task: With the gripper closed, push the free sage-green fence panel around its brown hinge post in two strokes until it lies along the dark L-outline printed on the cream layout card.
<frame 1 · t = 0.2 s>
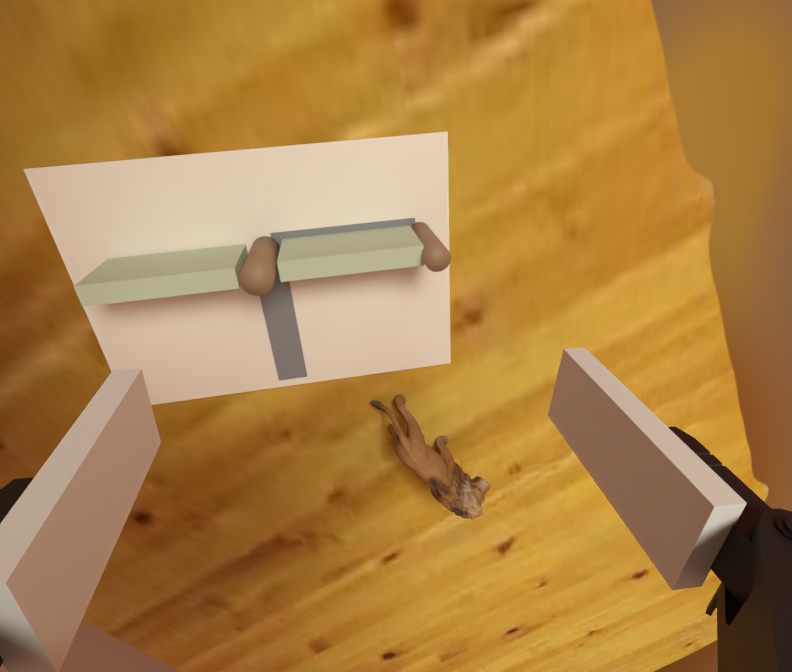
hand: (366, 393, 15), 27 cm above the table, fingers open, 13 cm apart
lion figurine: (423, 430, 52), on the table
layout card: (273, 281, 41), on the table
fence panel: (170, 272, 35), point 4 cm above the table, hinge at 0.0°
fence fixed: (266, 248, 39), resting on layout card
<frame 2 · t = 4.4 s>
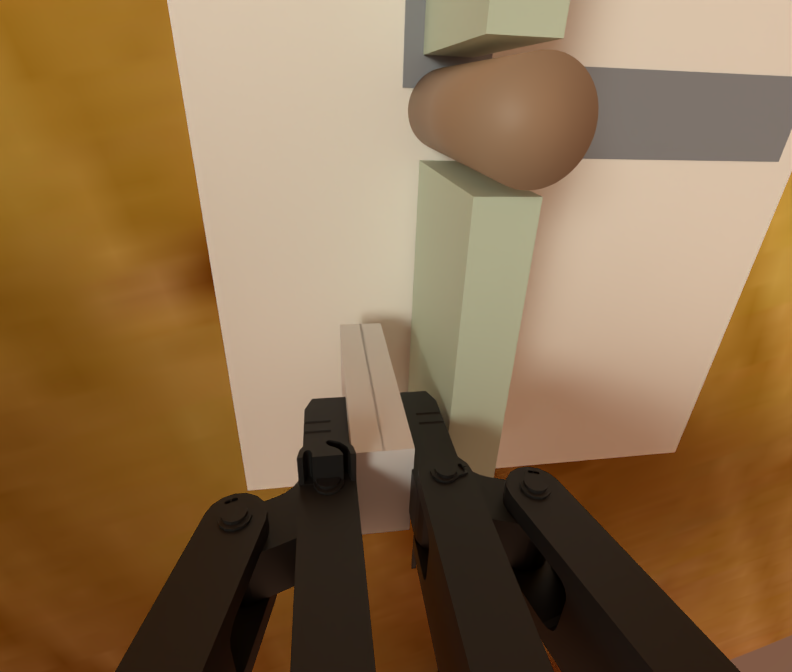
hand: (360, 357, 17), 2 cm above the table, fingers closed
layout card: (527, 112, 16), on the table
fence panel: (451, 347, 15), point 4 cm above the table, hinge at 0.2°, touching gripper
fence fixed: (442, 109, 15), resting on layout card
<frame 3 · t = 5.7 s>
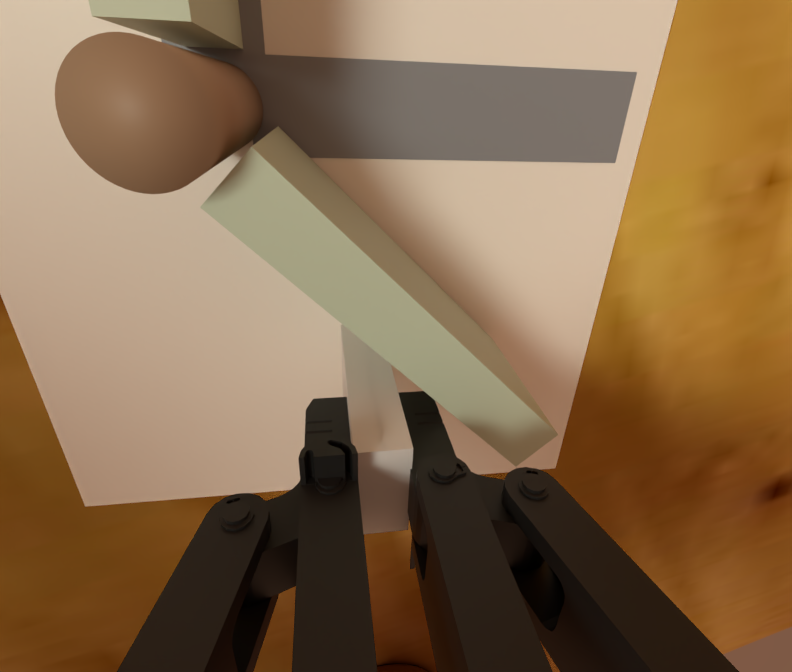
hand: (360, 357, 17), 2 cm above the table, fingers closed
layout card: (322, 109, 14), on the table
fence panel: (396, 295, 14), point 4 cm above the table, hinge at 45.7°, touching gripper
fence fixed: (224, 106, 14), resting on layout card
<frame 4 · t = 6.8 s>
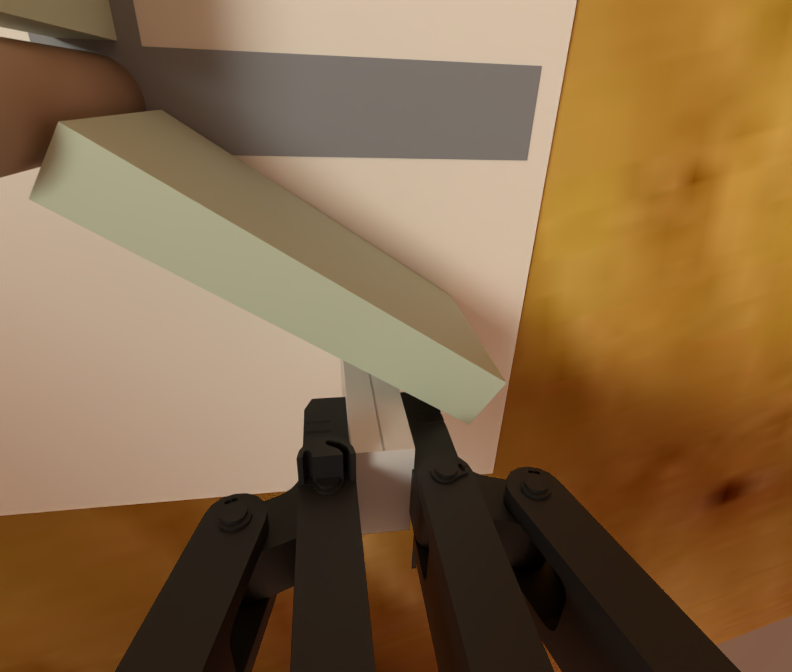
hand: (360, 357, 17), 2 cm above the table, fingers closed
layout card: (212, 104, 14), on the table
fence panel: (311, 263, 13), point 4 cm above the table, hinge at 56.5°, touching gripper
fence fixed: (105, 100, 13), resting on layout card
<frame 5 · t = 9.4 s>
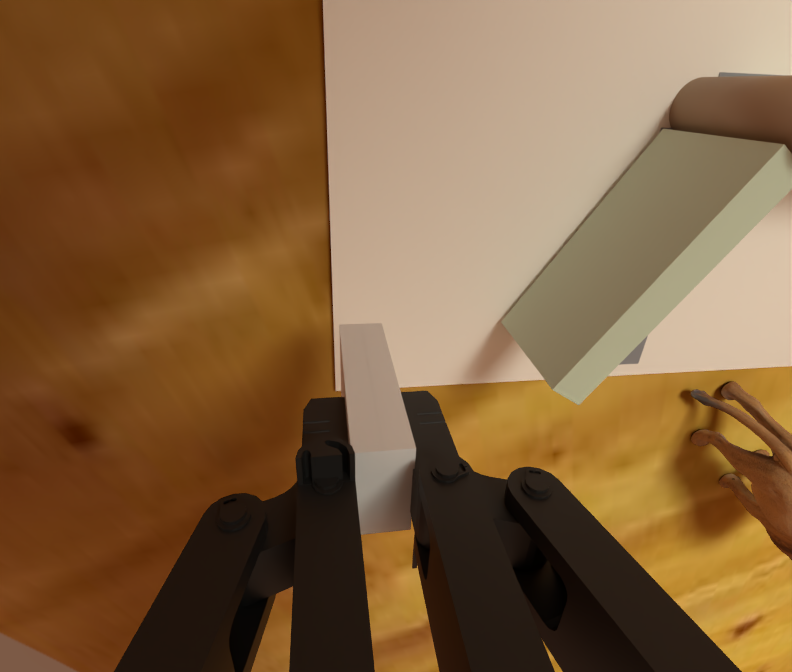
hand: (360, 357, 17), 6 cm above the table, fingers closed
lion figurine: (734, 440, 32), on the table
layout card: (668, 178, 22), on the table
fence panel: (622, 263, 19), point 4 cm above the table, hinge at 57.0°
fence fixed: (690, 108, 20), resting on layout card
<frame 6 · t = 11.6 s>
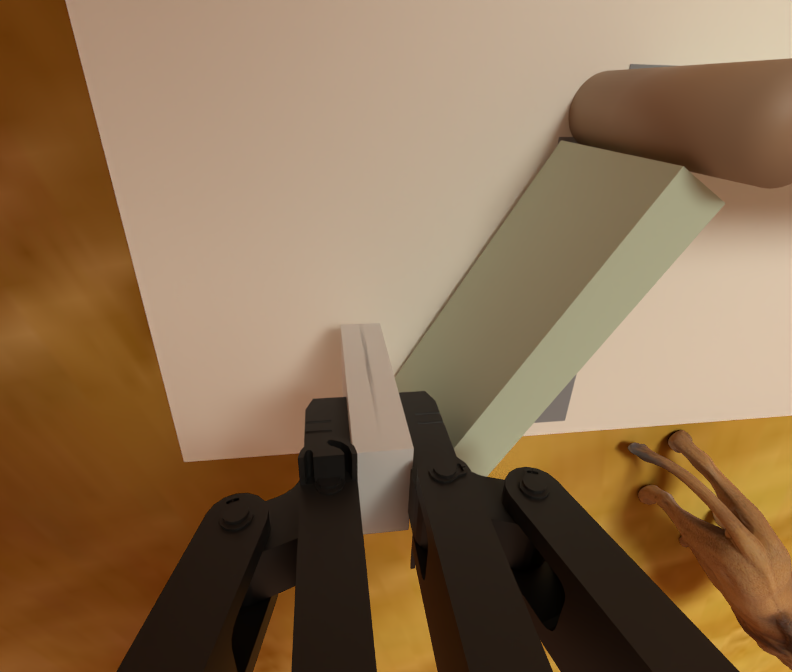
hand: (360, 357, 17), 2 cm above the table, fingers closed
lion figurine: (693, 493, 27), on the table
layout card: (579, 200, 17), on the table
fence panel: (511, 319, 15), point 4 cm above the table, hinge at 59.4°, touching gripper
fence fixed: (598, 111, 16), resting on layout card
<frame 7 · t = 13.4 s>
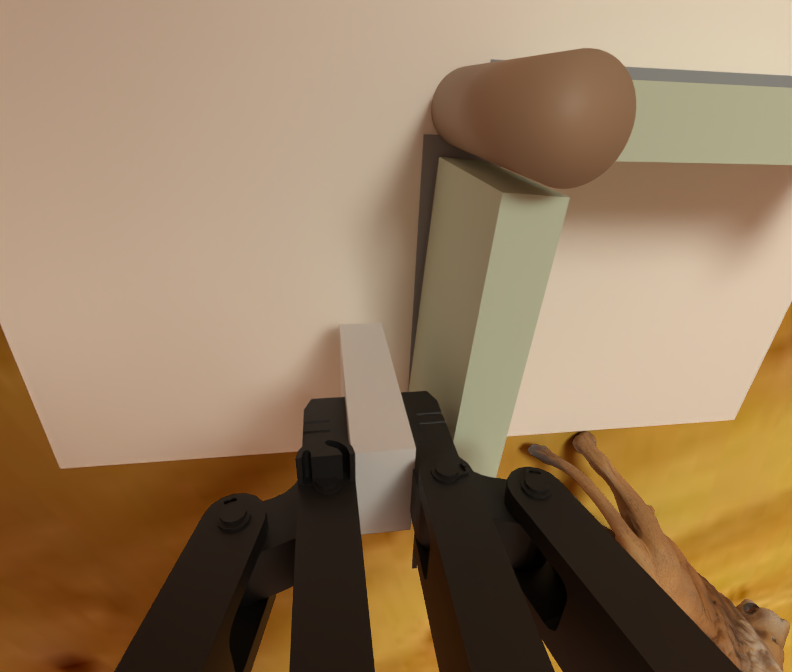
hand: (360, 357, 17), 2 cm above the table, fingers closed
lion figurine: (609, 496, 26), on the table
layout card: (455, 200, 17), on the table
fence panel: (460, 346, 15), point 4 cm above the table, hinge at 86.6°
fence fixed: (464, 108, 15), resting on layout card
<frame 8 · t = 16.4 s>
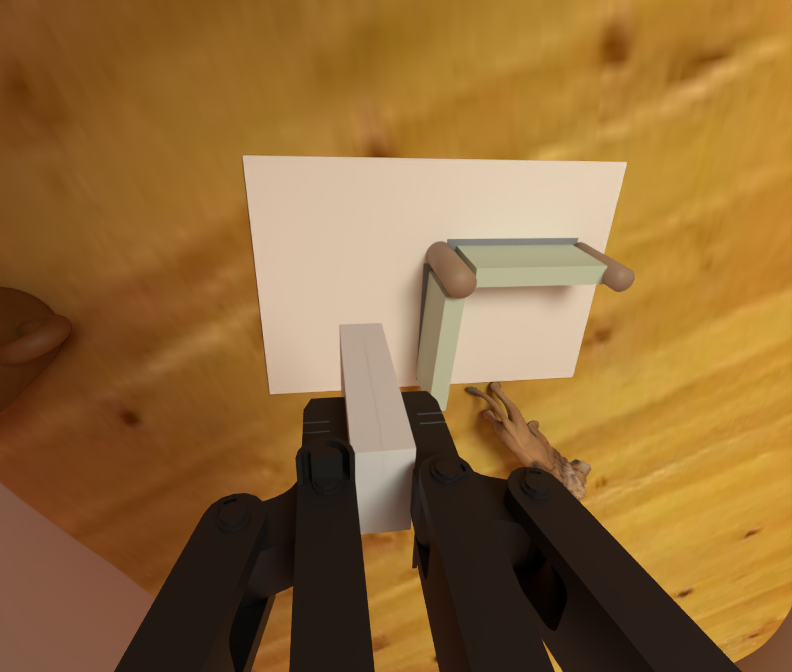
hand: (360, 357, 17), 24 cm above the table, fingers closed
lion figurine: (514, 415, 52), on the table, touching layout card
mug: (41, 315, 39), on the table
layout card: (436, 284, 43), on the table
fence panel: (437, 341, 41), point 4 cm above the table, hinge at 86.6°
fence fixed: (438, 253, 41), resting on layout card
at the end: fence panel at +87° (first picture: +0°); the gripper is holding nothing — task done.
